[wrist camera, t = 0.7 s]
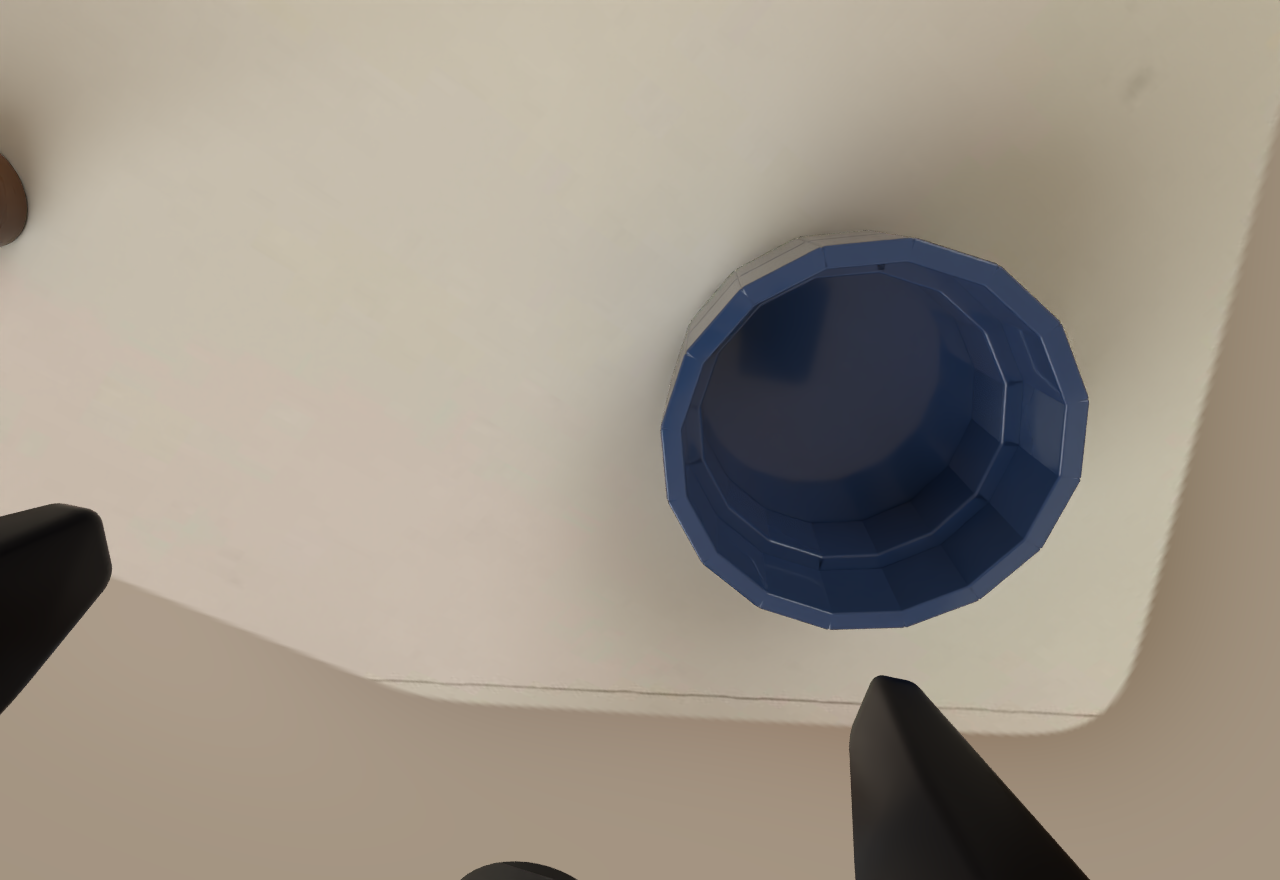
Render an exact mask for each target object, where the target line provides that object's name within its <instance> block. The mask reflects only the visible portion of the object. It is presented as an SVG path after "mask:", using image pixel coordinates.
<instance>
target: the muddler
mask: <svg viewBox="0 0 1280 880" xmlns="http://www.w3.org/2000/svg"><path fill="white" fill-rule="evenodd" d="M26 217H27V201H26V195H25V192H24V188H23V186H22V183H21V181H20V179H19V177H18V175H17V173H16V172H15V170H14V169H13V167H12V166H11V165H10V163H9V162H8V161H7V160H6V159H5V158H4V157H3V156H2V155H1V154H0V247H1V246H4V245H7V244H9V243H11V242H12V241H14V240H15V239H16V238H17V237H18V236H19V234H20V233H21V231H22V230H23V228H24V225H25V222H26Z"/></svg>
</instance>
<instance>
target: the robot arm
mask: <svg viewBox="0 0 1280 880" xmlns="http://www.w3.org/2000/svg"><path fill="white" fill-rule="evenodd" d="M111 573H112V564H111V559H110V555H109V550H108V546H107V541H106V536H105V532H104V527H103V523H102V520H101V518H100V516H99V515H98V514H97V513H96V512H94V511H93V510H91V509H87V508H82V507H77V506H73V505H68V504H60V503H57V504H49V505H45V506H41V507H37V508H33V509H29V510H25V511H21V512H17V513H13V514H9V515H5V516H1V517H0V714H1V713H2V712H3V711H4V710H5V709H6V708H7V707H8V705H10V704H11V702H12V701H13V700H14V699H15V698H16V697H17V695H18V694H19V693H20V692H21V691H22V690H23V688H24V687H25V686H26V685H27V684H28V683H29V681H30V680H31V679H32V678H33V676H34V675H35V674H36V673H37V672H38V670H39V669H40V668H41V667H42V665H43V664H44V663H45V661H46V660H47V659H48V658H49V657H50V655H51V654H52V653H53V652H54V651H55V649H56V648H57V647H58V646H59V645H60V643H61V642H62V641H63V640H64V638H65V637H66V636H67V635H68V633H69V632H70V631H71V630H72V628H73V627H74V626H75V625H76V624H77V622H78V621H79V620H80V619H81V618H82V616H83V615H84V614H85V612H86V611H87V610H88V609H89V608H90V607H91V605H92V604H93V603H94V601H95V600H96V599H97V598H98V597H99V595H100V594H101V593H102V592H103V590H104V589H105V588H106V586H107V584H108V582H109V580H110V577H111ZM849 743H850V744H849V752H850V772H851V773H850V774H851V794H852V795H851V797H852V819H853V839H854V840H853V841H854V863H855V879H856V880H1090V879H1089V878H1088V877H1087V876H1086V875H1085V874H1084V873H1083V872H1082V870H1081V869H1080V868H1079V867H1078V866H1077V865H1076V864H1075V862H1074V861H1073V860H1072V859H1071V858H1070V857H1069V856H1068V855H1067V853H1066V852H1065V851H1064V850H1063V849H1062V848H1061V847H1060V846H1059V844H1057V842H1056V841H1055V840H1054V839H1053V838H1052V837H1051V835H1050V834H1049V833H1048V832H1047V831H1046V830H1045V829H1044V828H1043V826H1042V825H1041V824H1040V823H1039V822H1038V821H1037V820H1036V819H1035V817H1034V816H1033V815H1032V814H1031V813H1030V812H1029V811H1028V810H1027V808H1026V807H1025V806H1024V805H1023V804H1022V803H1021V802H1020V801H1019V799H1018V798H1017V797H1016V796H1015V795H1014V794H1013V793H1012V791H1011V790H1010V789H1009V788H1008V787H1007V786H1006V785H1005V784H1004V783H1003V781H1002V780H1001V779H1000V778H999V777H998V776H997V775H996V773H995V772H994V771H993V770H992V769H991V768H990V767H989V766H988V764H987V763H985V761H984V760H983V759H982V758H981V757H980V755H979V754H978V753H977V752H976V751H975V750H974V749H973V748H972V747H971V745H970V744H969V743H968V742H967V741H966V740H965V739H964V737H963V736H962V735H961V734H960V733H959V732H958V731H957V730H956V728H955V727H954V726H953V725H952V724H951V723H950V722H949V721H948V719H947V718H946V717H945V716H944V715H943V714H942V713H941V712H940V710H939V709H938V708H937V707H936V706H935V705H934V704H933V703H932V701H931V700H930V699H929V698H928V697H927V696H926V695H925V694H924V692H923V691H922V690H921V689H920V688H919V687H918V686H917V685H916V684H914V683H913V682H910V681H907V680H903V679H898V678H893V677H888V676H883V675H880V676H877V677H875V678H874V679H873V680H872V682H871V683H870V685H869V688H868V690H867V692H866V695H865V697H864V699H863V702H862V704H861V706H860V709H859V711H858V713H857V716H856V718H855V720H854V723H853V725H852V729H851V734H850V742H849Z"/></svg>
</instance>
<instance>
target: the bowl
mask: <svg viewBox="0 0 1280 880" xmlns="http://www.w3.org/2000/svg"><path fill="white" fill-rule="evenodd" d="M1088 406H1089V400H1088V394H1087V392H1086V389H1085V386H1084V383H1083V381H1082V378H1081V375H1080V372H1079V370H1078V367H1077V364H1076V362H1075V359H1074V356H1073V353H1072V351H1071V348H1070V345H1069V342H1068V340H1067V337H1066V334H1065V331H1064V329H1063V326H1062V324H1060V321H1059V320H1058V319H1057V318H1056V317H1055V316H1054V315H1053V314H1052V313H1051V312H1050V311H1048V310H1047V309H1046V308H1045V307H1044V306H1043V305H1042V304H1041V303H1040V302H1039V301H1038V300H1037V299H1036V298H1035V297H1034V296H1032V295H1031V294H1030V293H1029V292H1028V291H1027V290H1026V289H1025V288H1024V287H1023V286H1022V285H1021V284H1020V283H1019V282H1018V281H1016V280H1015V279H1014V278H1013V277H1012V276H1011V275H1010V274H1009V273H1008V272H1007V271H1006V270H1005V269H1004V268H1003V267H1001V266H999V265H998V264H996V263H994V262H990V261H987V260H984V259H981V258H978V257H975V256H972V255H969V254H965V253H962V252H959V251H956V250H953V249H950V248H947V247H944V246H940V245H937V244H934V243H931V242H928V241H925V240H922V239H919V238H914V237H908V236H902V235H896V234H889V233H883V232H877V231H868V230H863V231H853V232H843V233H833V234H822V235H812V236H802V237H799V238H798V239H797V238H796V239H793V240H791V241H789V242H787V243H785V244H783V245H781V246H779V247H777V248H776V249H774V250H772V251H770V252H768V253H766V254H764V255H762V256H760V257H758V258H757V259H755V260H753V261H751V262H749V263H747V264H745V265H743V266H741V267H739V268H738V269H737V270H736V271H734V272H732V273H731V274H730V276H729V277H728V278H727V279H726V280H725V282H724V283H723V284H722V285H721V286H720V287H719V289H718V290H717V291H716V292H715V293H714V294H713V296H712V297H711V298H710V299H709V300H708V301H707V303H706V304H705V305H704V306H703V307H702V309H701V310H700V311H699V312H698V313H697V314H696V316H695V317H694V318H693V319H692V320H691V323H690V324H689V326H688V329H687V332H686V336H685V339H684V342H683V345H682V348H681V351H680V354H679V357H678V360H677V363H676V366H675V369H674V372H673V375H672V378H671V382H670V386H669V391H668V395H667V400H666V404H665V409H664V413H663V418H662V422H661V429H660V431H661V442H662V452H663V463H664V473H665V484H666V494H667V499H668V503H669V505H670V507H671V509H672V510H673V512H674V514H675V516H676V518H677V519H678V521H679V523H680V525H681V527H682V528H683V530H684V532H685V534H686V536H687V537H688V539H689V541H690V543H691V545H692V546H693V548H694V550H695V552H696V554H697V555H698V557H699V559H700V561H701V562H703V564H704V565H705V566H706V567H708V568H709V569H710V570H711V571H713V572H714V573H715V574H716V575H718V576H719V577H720V578H721V579H723V580H724V581H725V582H727V583H728V584H729V585H730V586H732V587H733V588H734V589H735V590H737V591H738V592H739V593H740V594H742V595H743V596H744V597H746V598H747V599H748V600H749V601H751V602H752V603H753V604H754V605H756V606H757V607H758V606H759V608H761V609H764V610H767V611H770V612H774V613H777V614H780V615H783V616H786V617H789V618H793V619H796V620H799V621H802V622H805V623H808V624H812V625H815V626H818V627H821V628H824V629H830V630H840V629H873V628H903V627H904V626H905V627H909V626H911V625H914V624H917V623H919V622H922V621H925V620H927V619H930V618H933V617H936V616H938V615H941V614H944V613H946V612H949V611H952V610H954V609H957V608H960V607H962V606H965V605H968V604H970V603H973V602H976V601H978V599H981V598H982V597H984V596H985V595H986V594H987V593H988V592H990V591H991V590H992V589H993V588H995V587H996V586H997V585H998V584H999V583H1001V582H1002V581H1003V580H1004V579H1005V578H1007V577H1008V576H1009V575H1010V574H1011V573H1013V572H1014V571H1015V570H1016V569H1018V568H1019V567H1020V566H1021V565H1022V564H1024V563H1025V562H1026V561H1027V560H1028V559H1030V558H1031V557H1032V556H1033V555H1034V554H1036V553H1037V552H1038V551H1039V550H1040V548H1042V547H1043V545H1044V544H1045V542H1046V540H1047V538H1048V536H1049V535H1050V533H1051V531H1052V529H1053V528H1054V526H1055V524H1056V522H1057V521H1058V519H1059V517H1060V515H1061V514H1062V512H1063V510H1064V508H1065V507H1066V505H1067V503H1068V501H1069V499H1070V498H1071V496H1072V494H1073V492H1074V491H1075V489H1076V487H1077V485H1078V484H1079V482H1080V479H1079V478H1081V472H1082V463H1083V454H1084V444H1085V435H1086V425H1087V416H1088Z"/></svg>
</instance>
